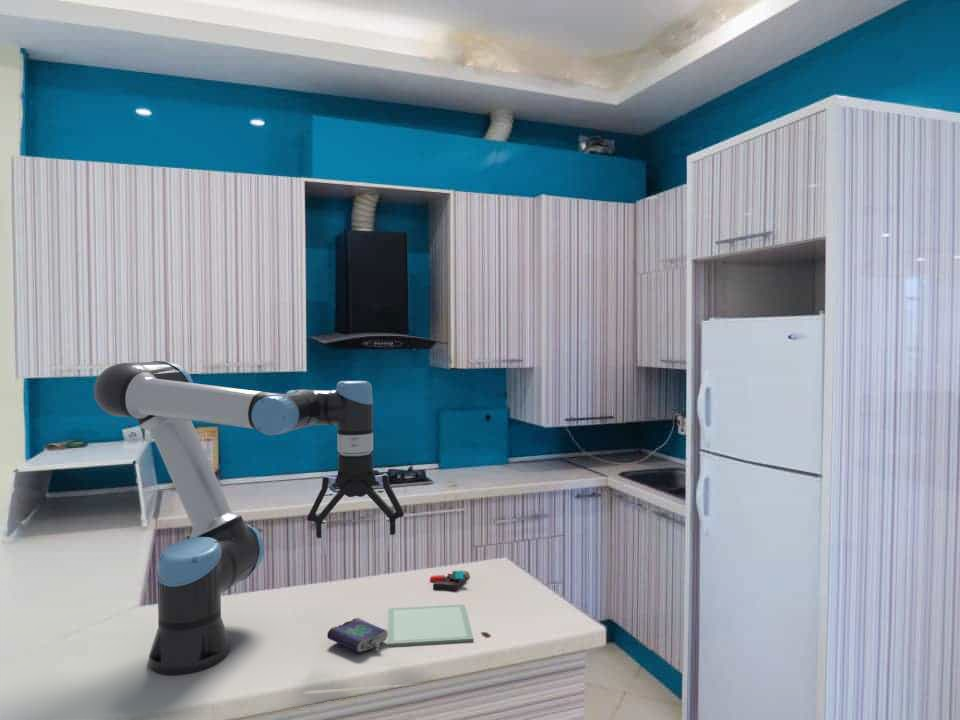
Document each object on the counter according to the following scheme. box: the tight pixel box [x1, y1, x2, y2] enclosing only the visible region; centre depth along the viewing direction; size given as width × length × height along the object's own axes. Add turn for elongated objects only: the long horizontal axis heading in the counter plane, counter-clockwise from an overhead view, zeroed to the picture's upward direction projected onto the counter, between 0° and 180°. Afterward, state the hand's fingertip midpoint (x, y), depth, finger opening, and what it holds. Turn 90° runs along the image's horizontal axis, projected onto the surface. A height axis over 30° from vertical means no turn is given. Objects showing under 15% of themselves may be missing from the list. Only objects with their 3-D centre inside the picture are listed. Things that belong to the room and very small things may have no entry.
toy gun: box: [429, 570, 471, 592], centre depth 167 cm, size 10×12×5 cm
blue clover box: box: [326, 617, 388, 653], centre depth 133 cm, size 9×3×11 cm
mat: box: [387, 603, 474, 648], centre depth 142 cm, size 18×18×1 cm
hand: (356, 551), depth 136 cm, fingers open, 13 cm apart
